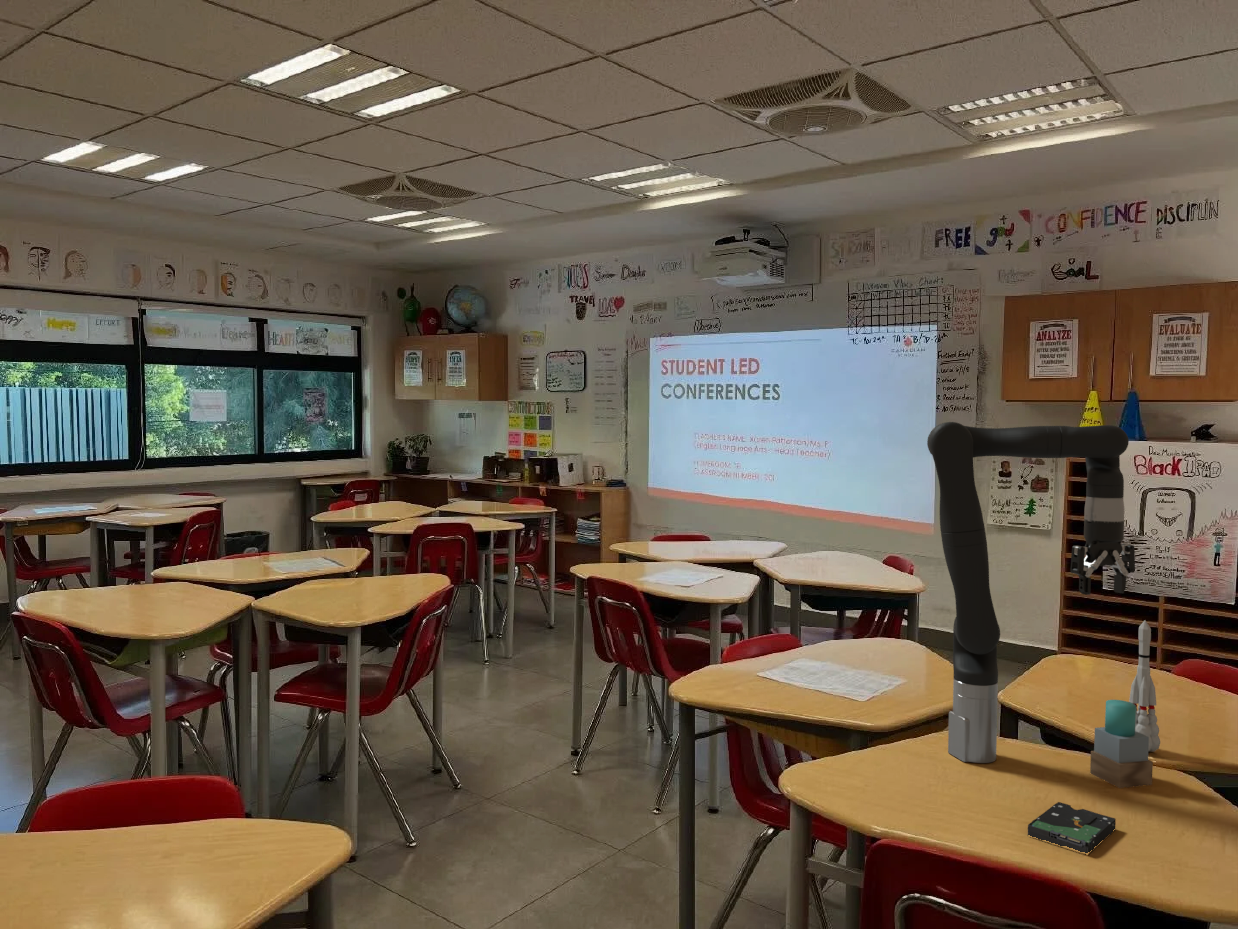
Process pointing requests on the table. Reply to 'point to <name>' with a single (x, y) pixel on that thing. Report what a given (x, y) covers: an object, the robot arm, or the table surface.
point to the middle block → (1121, 746)
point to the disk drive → (1072, 827)
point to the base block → (1121, 771)
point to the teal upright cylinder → (1120, 718)
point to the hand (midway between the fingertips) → (1102, 593)
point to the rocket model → (1145, 692)
